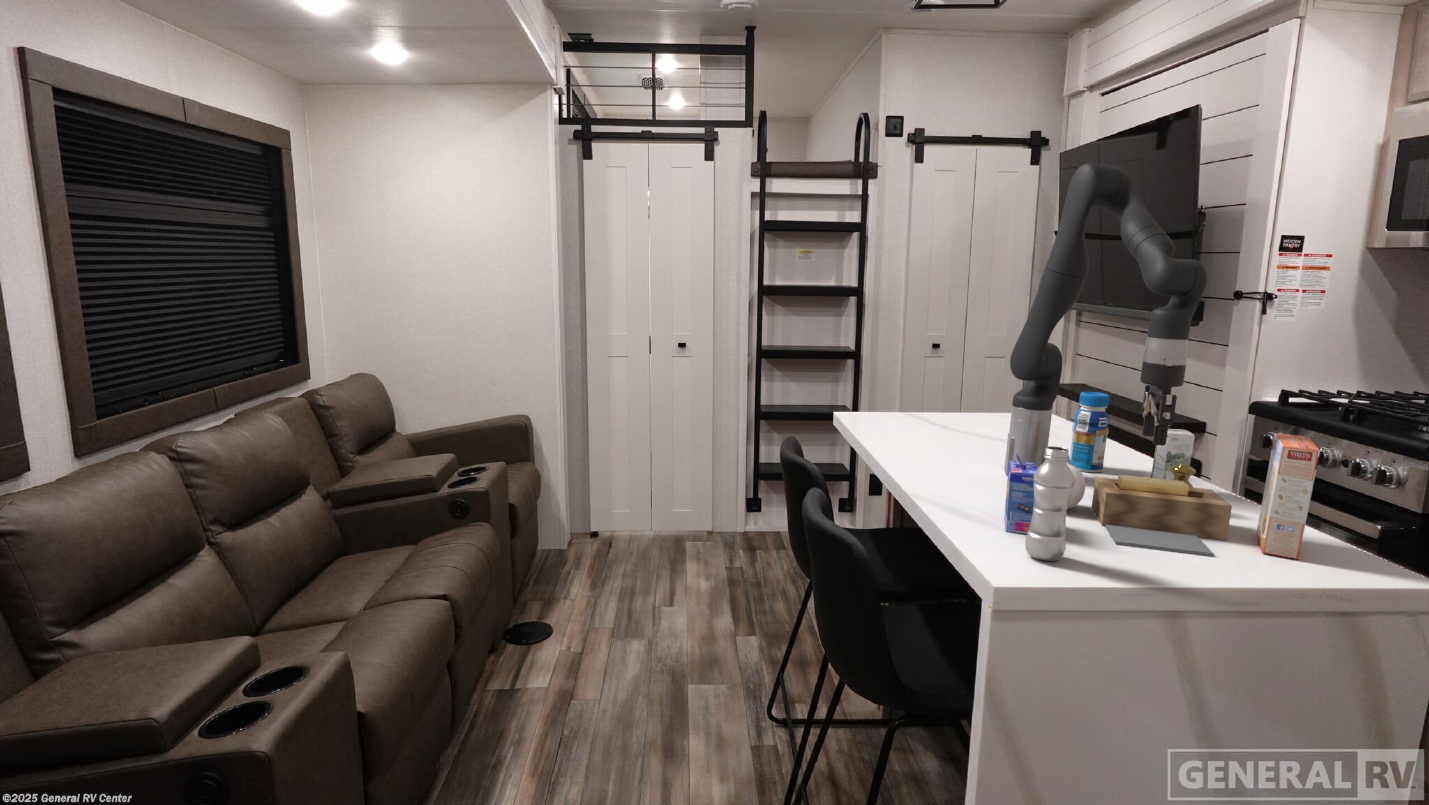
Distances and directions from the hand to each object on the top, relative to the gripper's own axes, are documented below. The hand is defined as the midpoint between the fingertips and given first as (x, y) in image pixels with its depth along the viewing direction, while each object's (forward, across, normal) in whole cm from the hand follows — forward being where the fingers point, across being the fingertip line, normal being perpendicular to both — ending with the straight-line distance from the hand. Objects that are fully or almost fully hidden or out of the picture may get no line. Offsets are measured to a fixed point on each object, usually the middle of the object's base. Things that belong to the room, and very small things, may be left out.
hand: (1153, 440), depth 154 cm
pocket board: (+17, 0, +2) cm, 17 cm away
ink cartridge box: (+18, +13, -25) cm, 33 cm away
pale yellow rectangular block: (+14, 0, +1) cm, 14 cm away
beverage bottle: (+17, -43, -4) cm, 47 cm away
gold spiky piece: (+18, -14, +10) cm, 25 cm away
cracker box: (+18, +6, +22) cm, 29 cm away
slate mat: (+17, +12, 0) cm, 21 cm away
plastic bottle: (+18, +30, -22) cm, 41 cm away
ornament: (+18, -3, -16) cm, 24 cm away
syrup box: (+18, -30, +12) cm, 37 cm away
